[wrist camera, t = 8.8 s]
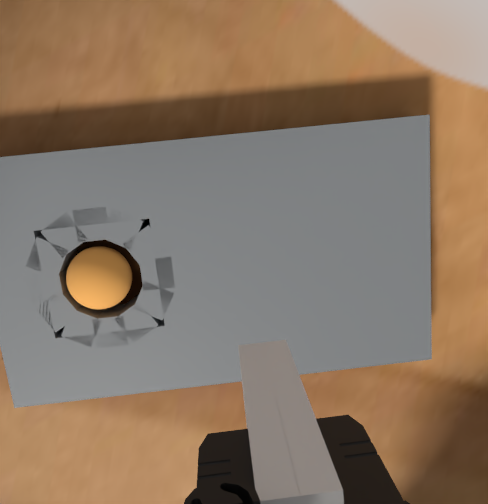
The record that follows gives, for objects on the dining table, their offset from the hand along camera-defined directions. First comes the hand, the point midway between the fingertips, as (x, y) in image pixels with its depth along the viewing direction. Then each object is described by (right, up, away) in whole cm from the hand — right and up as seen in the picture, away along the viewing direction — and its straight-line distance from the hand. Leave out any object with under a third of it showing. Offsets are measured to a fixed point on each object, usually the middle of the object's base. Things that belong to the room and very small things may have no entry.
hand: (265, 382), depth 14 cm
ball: (-10, +2, +15) cm, 18 cm away
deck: (-3, +4, +17) cm, 17 cm away
